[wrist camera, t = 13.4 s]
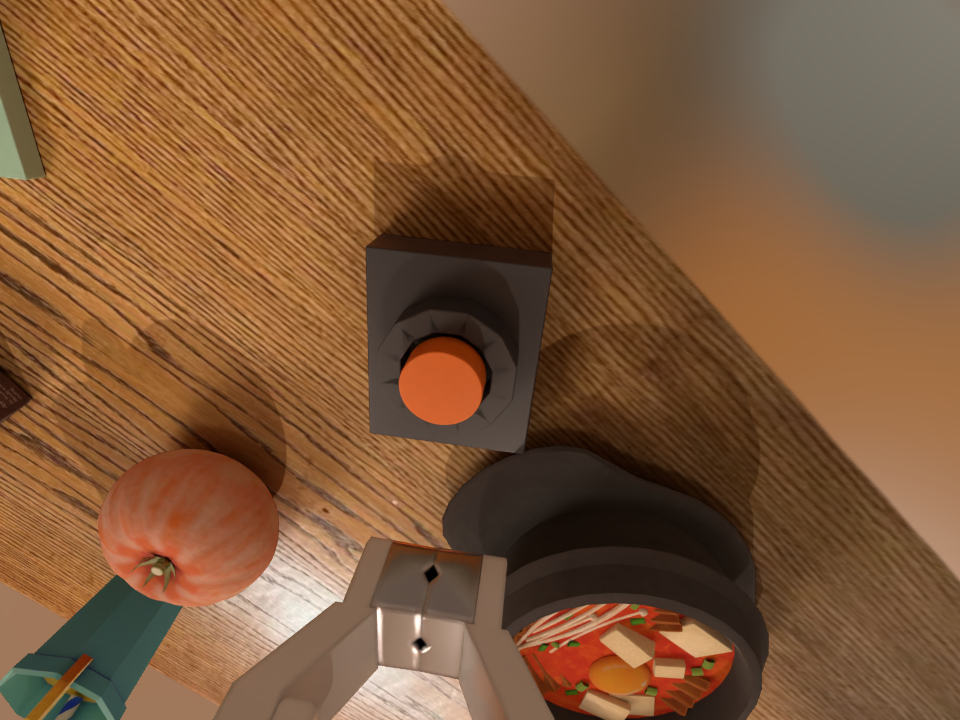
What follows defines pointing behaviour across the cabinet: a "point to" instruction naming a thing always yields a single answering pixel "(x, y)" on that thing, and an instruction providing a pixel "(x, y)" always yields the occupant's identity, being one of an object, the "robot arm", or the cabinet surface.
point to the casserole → (617, 588)
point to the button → (443, 380)
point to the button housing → (456, 331)
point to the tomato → (189, 527)
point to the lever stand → (15, 126)
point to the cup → (91, 658)
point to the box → (10, 398)
